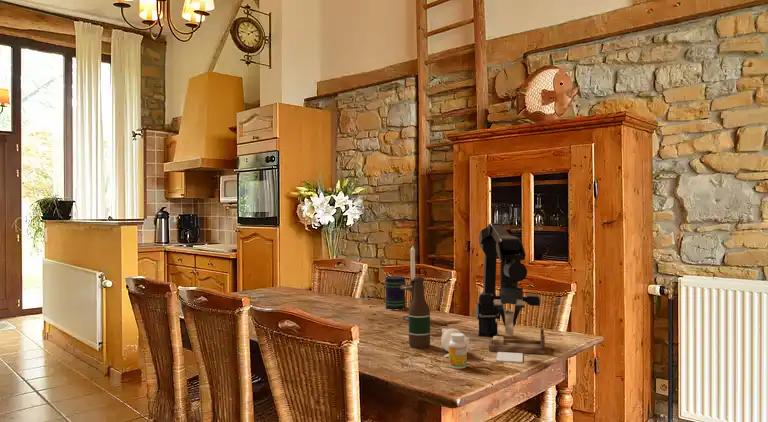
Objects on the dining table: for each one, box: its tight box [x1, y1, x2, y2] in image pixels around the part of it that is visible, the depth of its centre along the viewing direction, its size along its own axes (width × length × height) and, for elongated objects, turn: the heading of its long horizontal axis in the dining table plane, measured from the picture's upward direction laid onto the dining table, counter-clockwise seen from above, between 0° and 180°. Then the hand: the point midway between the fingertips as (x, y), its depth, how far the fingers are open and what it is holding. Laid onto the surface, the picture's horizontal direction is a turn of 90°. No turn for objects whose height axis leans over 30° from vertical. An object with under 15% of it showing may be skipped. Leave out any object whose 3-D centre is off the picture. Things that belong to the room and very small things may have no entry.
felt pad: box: [495, 352, 524, 364], centre depth 176 cm, size 8×10×1 cm
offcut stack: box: [492, 335, 505, 345], centre depth 188 cm, size 4×7×2 cm, turn 166°
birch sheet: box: [504, 308, 515, 337], centre depth 176 cm, size 2×8×7 cm, turn 166°
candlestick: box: [400, 237, 427, 322], centre depth 237 cm, size 11×11×35 cm
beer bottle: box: [408, 276, 431, 349], centre depth 192 cm, size 8×8×24 cm
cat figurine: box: [440, 327, 474, 358], centre depth 181 cm, size 9×11×12 cm
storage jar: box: [384, 275, 407, 310], centre depth 263 cm, size 10×10×15 cm
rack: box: [488, 328, 546, 355], centre depth 187 cm, size 18×10×6 cm, turn 76°
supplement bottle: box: [448, 332, 468, 370], centre depth 167 cm, size 5×5×10 cm
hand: (509, 325), depth 176 cm, fingers closed on birch sheet, 2 cm apart
